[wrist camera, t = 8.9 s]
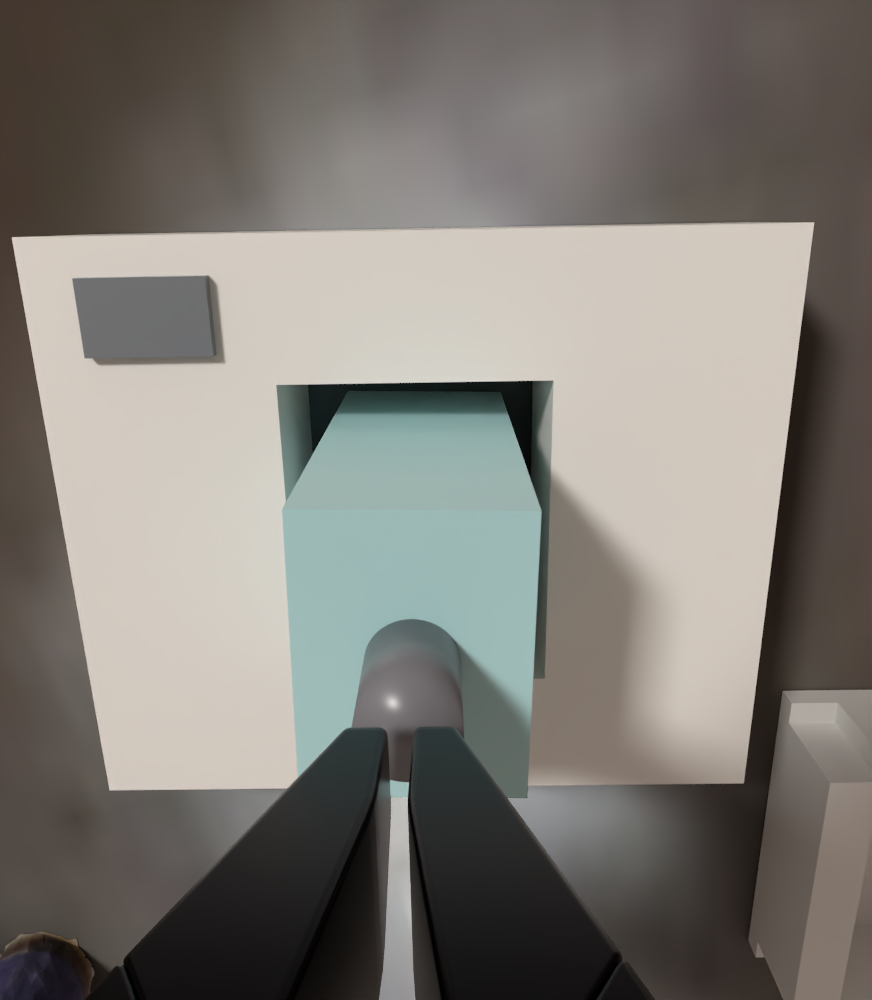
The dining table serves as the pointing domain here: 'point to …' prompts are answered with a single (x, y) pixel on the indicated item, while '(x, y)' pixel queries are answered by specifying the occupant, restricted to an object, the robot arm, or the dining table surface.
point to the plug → (415, 580)
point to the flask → (44, 969)
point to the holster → (818, 849)
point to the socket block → (422, 359)
